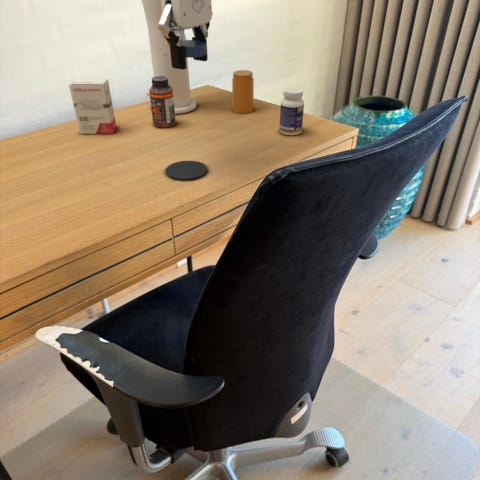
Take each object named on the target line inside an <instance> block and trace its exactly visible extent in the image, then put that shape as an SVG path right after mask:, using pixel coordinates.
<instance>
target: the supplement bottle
mask: <svg viewBox="0 0 480 480" xmlns="http://www.w3.org/2000/svg"><path fill="white" fill-rule="evenodd" d="M150 87H151V88H150V89H149V88H148V91H149V94H150V96H149V102H150V108H151V109H150V110H151V119H152V124H153V126H155V127H157V128H162V129H163V128H165V129H167V128H170V127H173V126H174V125H175V124H176V114H175V109H174V98H173V89H172V87H171V86H169V85H168V78H167V77H166V76H155V77H154V76H153V77H152V78H151V86H150Z"/></svg>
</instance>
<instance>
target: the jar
mask: <svg viewBox="0 0 480 480" xmlns="http://www.w3.org/2000/svg"><path fill="white" fill-rule="evenodd" d="M253 74H254V73H253V71H251V70H248V69H239V70H234V71H233V72H232V79H231V85H232V87H231V88H232V91H231V92H232V93H231V95H232V111H233V112H235V113H237V114H249V113H252V112H253V111H254V109H255V108H254V106H255V105H254V103H255V102H254V101H255V100H254V99H255V97H254V96H255V95H254V94H255V91H254V89H255V78H254V76H253Z"/></svg>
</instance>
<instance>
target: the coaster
mask: <svg viewBox="0 0 480 480" xmlns="http://www.w3.org/2000/svg"><path fill="white" fill-rule="evenodd" d="M207 173H208V166H207V165H206V164H204V163H203V162H200V161H196V160H180V161H176V162H173V163H171V164H169V165H168V166H166V168H165V175H166V176H167V177H168V178H170V179H172V180H175V181H183V182H184V181H185V182H187V181H194V180H198V179H201V178H203V177H204V176H206V174H207Z"/></svg>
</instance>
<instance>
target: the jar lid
mask: <svg viewBox="0 0 480 480" xmlns="http://www.w3.org/2000/svg"><path fill="white" fill-rule="evenodd" d="M182 46H185V53H186V58H188V59H189V58H192V59H193V57H201V56H204V55H206V43H205V42H203V41H197V40H192V39H186V40H183V44H182Z"/></svg>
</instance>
